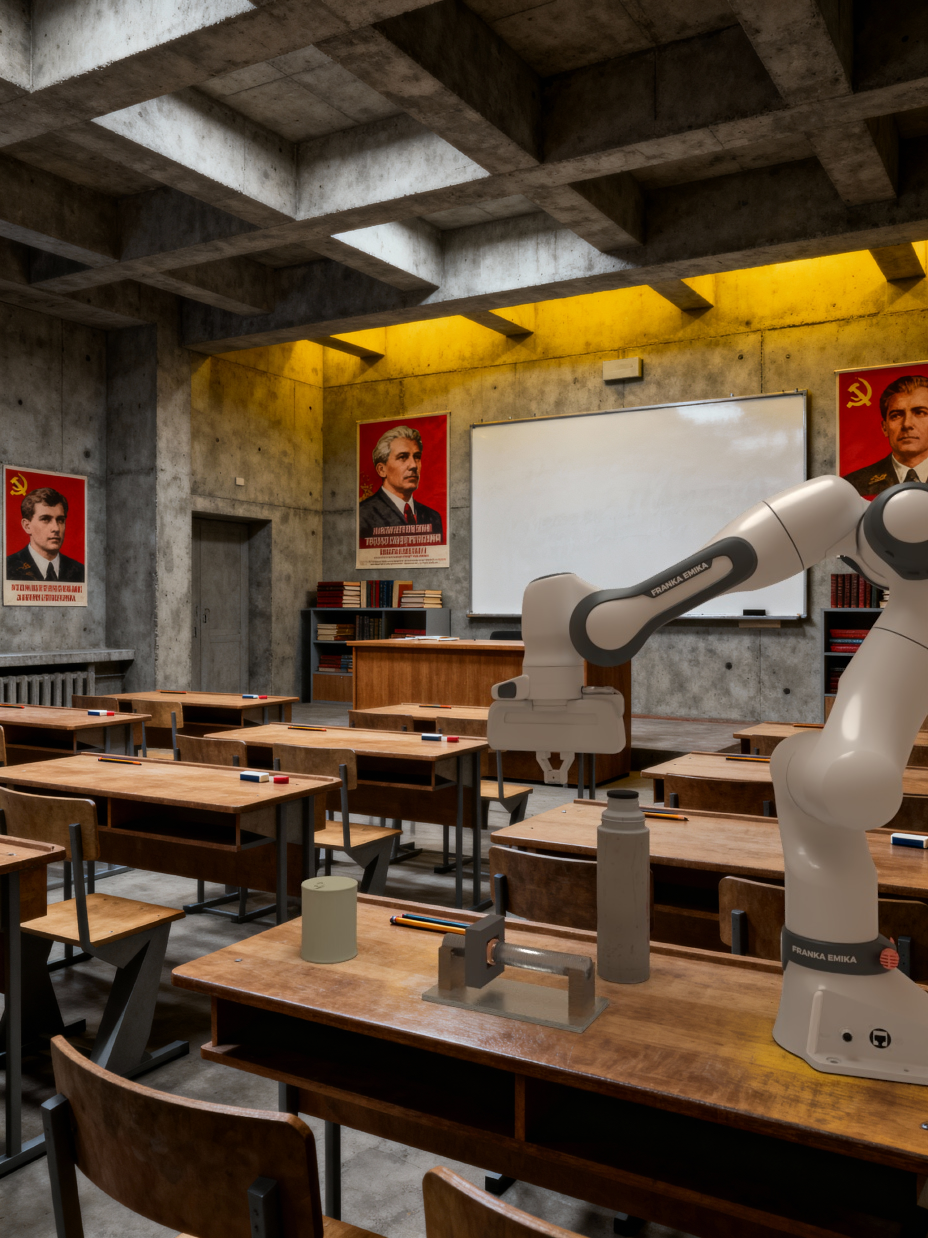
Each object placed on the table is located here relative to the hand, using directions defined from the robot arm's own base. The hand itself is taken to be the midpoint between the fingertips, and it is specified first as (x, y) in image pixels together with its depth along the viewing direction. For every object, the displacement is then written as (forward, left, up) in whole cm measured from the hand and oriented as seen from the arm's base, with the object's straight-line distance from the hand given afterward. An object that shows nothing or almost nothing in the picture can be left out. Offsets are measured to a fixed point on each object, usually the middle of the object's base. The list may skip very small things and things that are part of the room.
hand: (556, 783), depth 132 cm
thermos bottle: (-5, -14, -31) cm, 34 cm away
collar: (+9, +4, -28) cm, 30 cm away
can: (+40, 0, -31) cm, 50 cm away
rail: (+5, +4, -31) cm, 31 cm away
